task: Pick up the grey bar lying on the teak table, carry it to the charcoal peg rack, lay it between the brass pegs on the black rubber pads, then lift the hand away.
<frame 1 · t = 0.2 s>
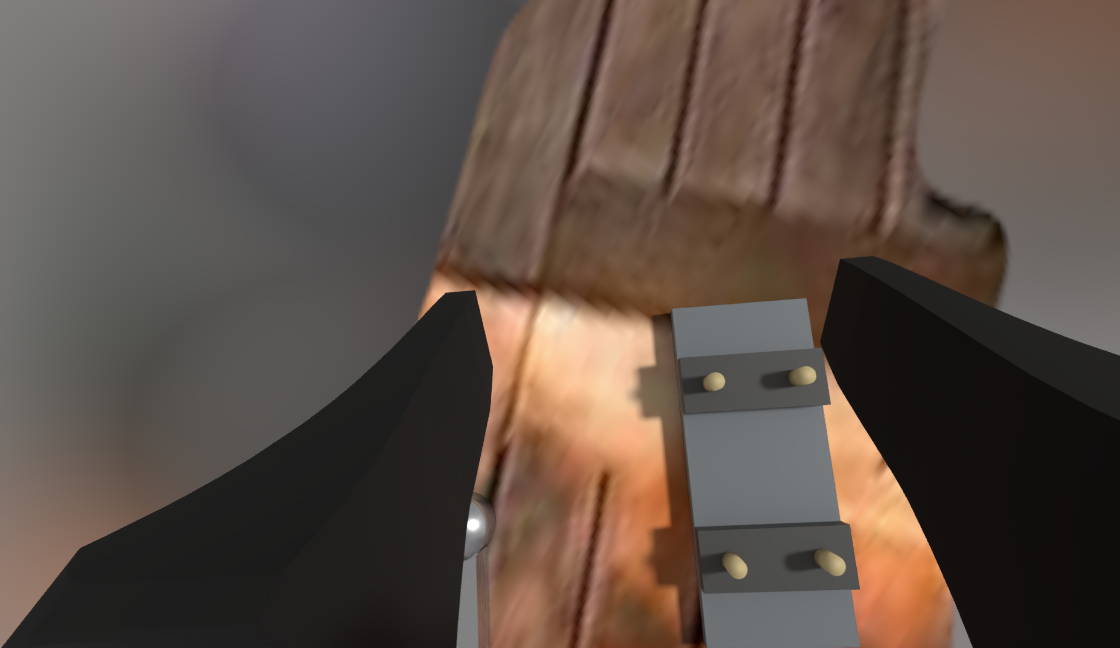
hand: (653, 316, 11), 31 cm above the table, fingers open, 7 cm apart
peg rack: (753, 463, 39), on the table
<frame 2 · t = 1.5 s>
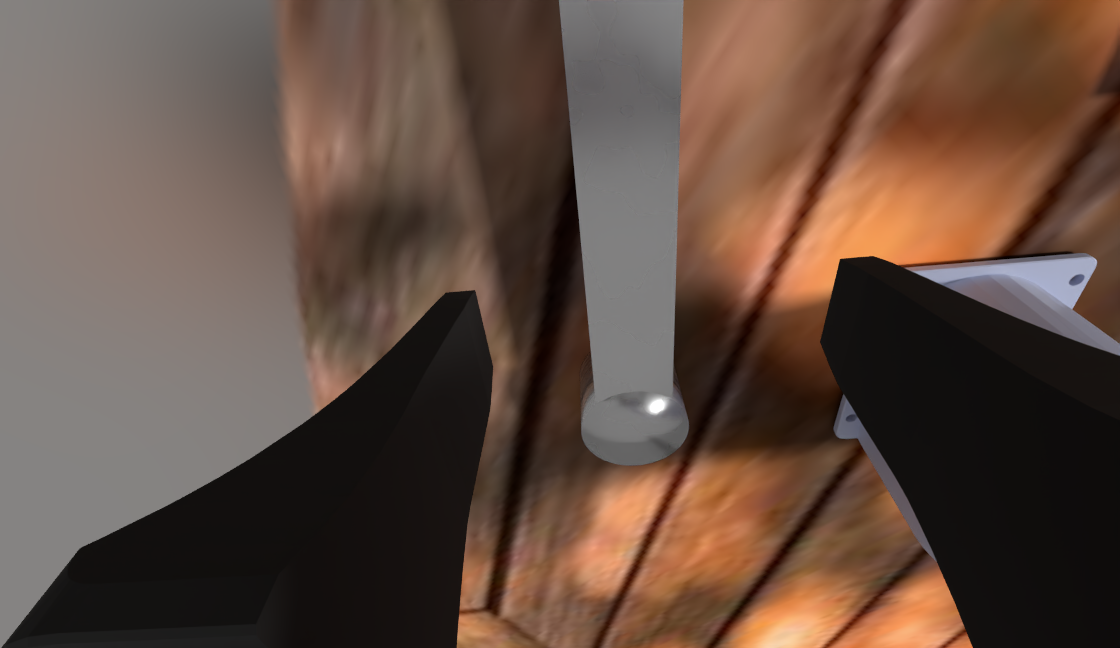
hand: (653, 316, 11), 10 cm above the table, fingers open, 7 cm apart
grey bar: (618, 167, 19), on the table
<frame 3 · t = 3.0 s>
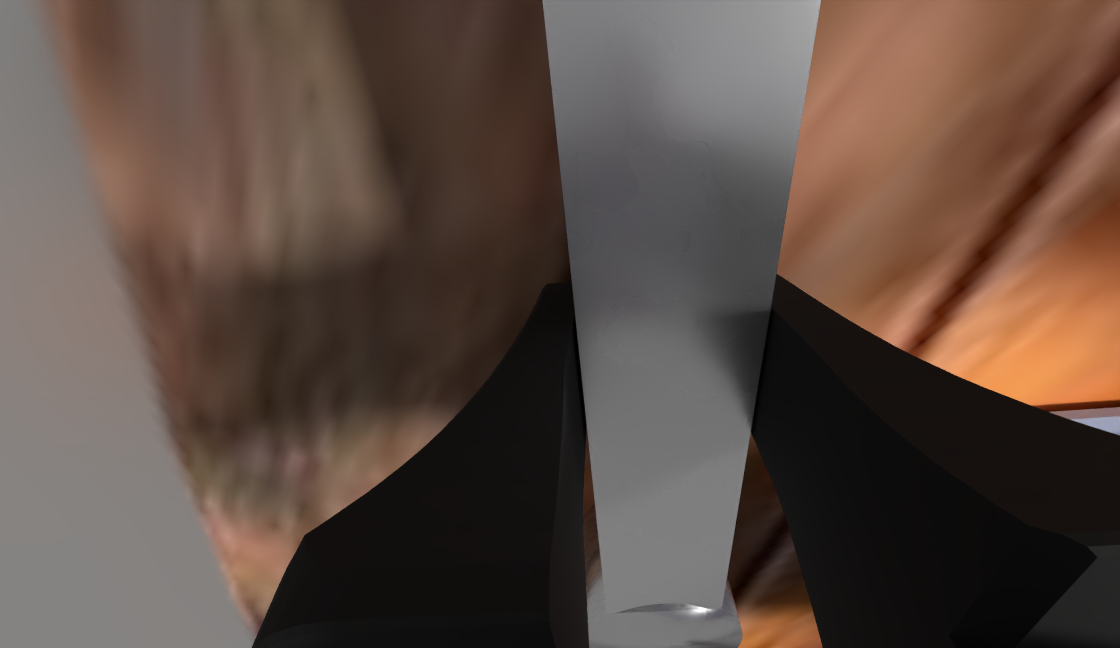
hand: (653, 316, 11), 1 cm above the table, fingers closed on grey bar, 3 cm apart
grey bar: (644, 280, 12), on the table, touching gripper
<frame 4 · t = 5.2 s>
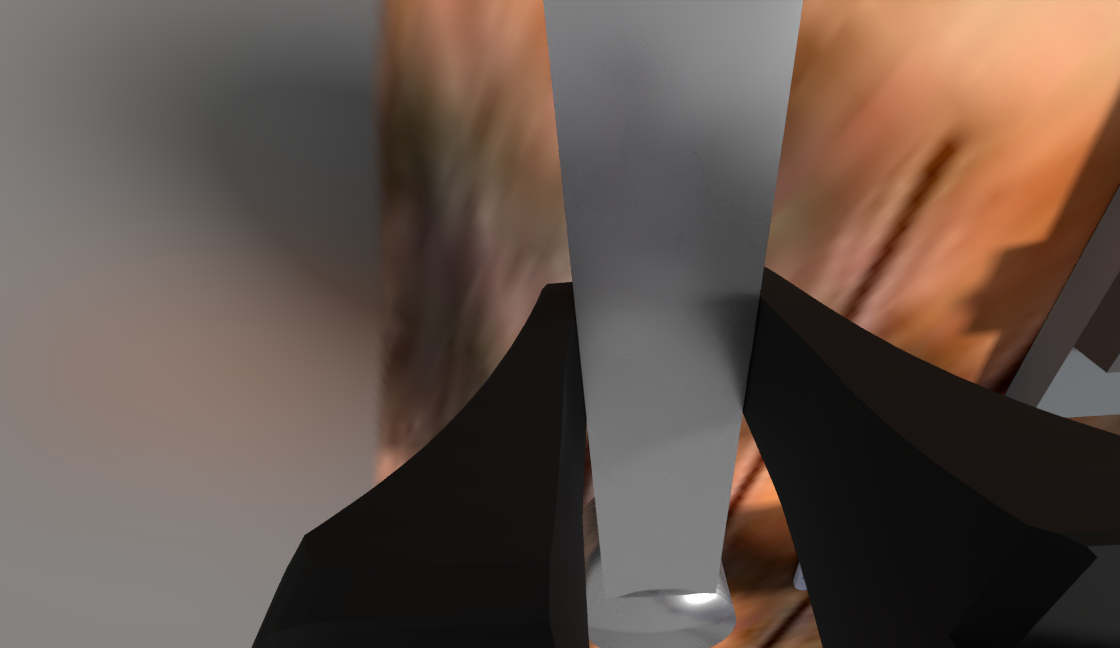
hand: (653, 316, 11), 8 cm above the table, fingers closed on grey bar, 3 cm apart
grey bar: (641, 279, 12), point 6 cm above the table, touching gripper
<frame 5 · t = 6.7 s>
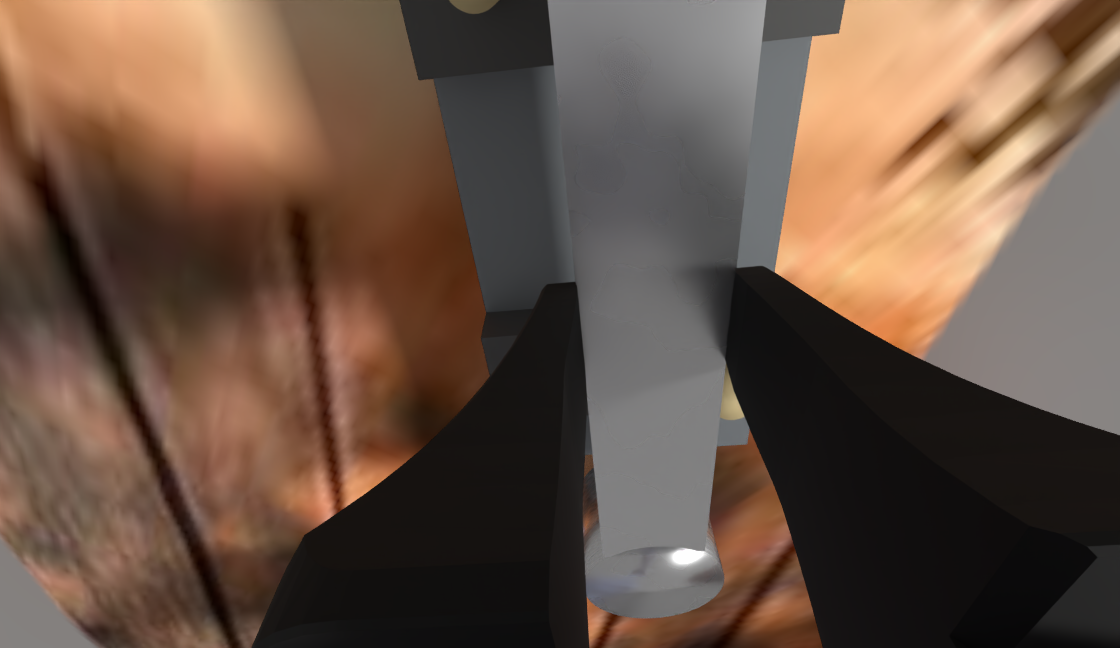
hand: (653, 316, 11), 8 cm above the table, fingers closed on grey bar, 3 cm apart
peg rack: (618, 175, 17), on the table
grey bar: (634, 258, 14), point 5 cm above the table, touching gripper
when the fingers open (6 cm above the table, at t = 7.3 s): grey bar stays where it is, resting on peg rack.
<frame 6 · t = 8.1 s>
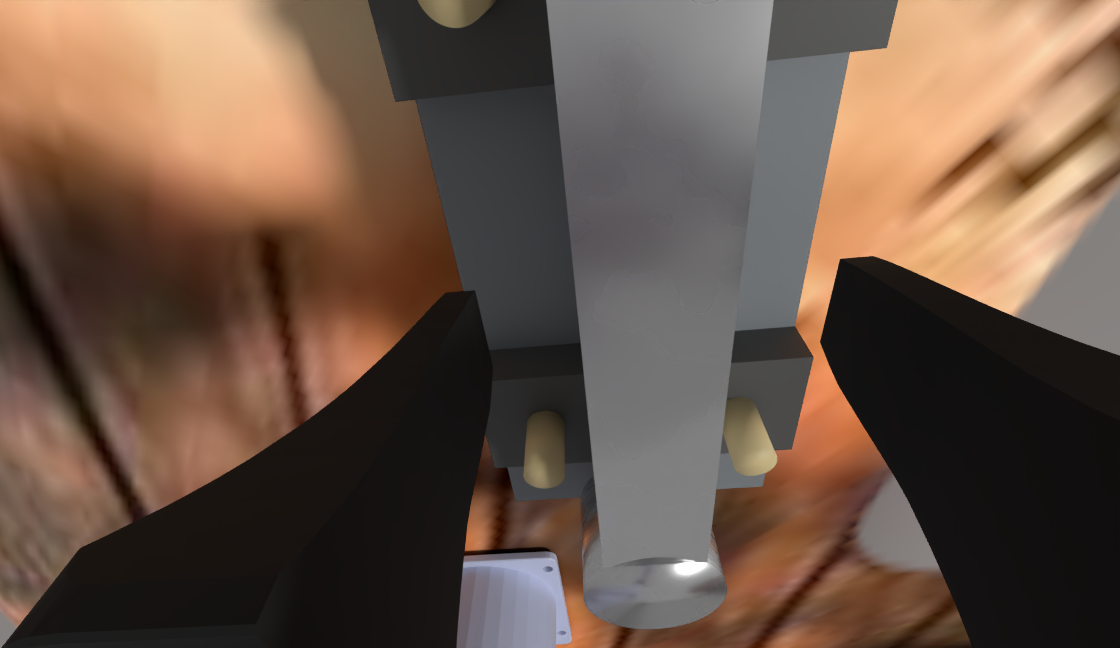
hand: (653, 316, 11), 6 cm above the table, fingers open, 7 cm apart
peg rack: (625, 201, 15), on the table
grey bar: (636, 264, 13), point 3 cm above the table, touching peg rack
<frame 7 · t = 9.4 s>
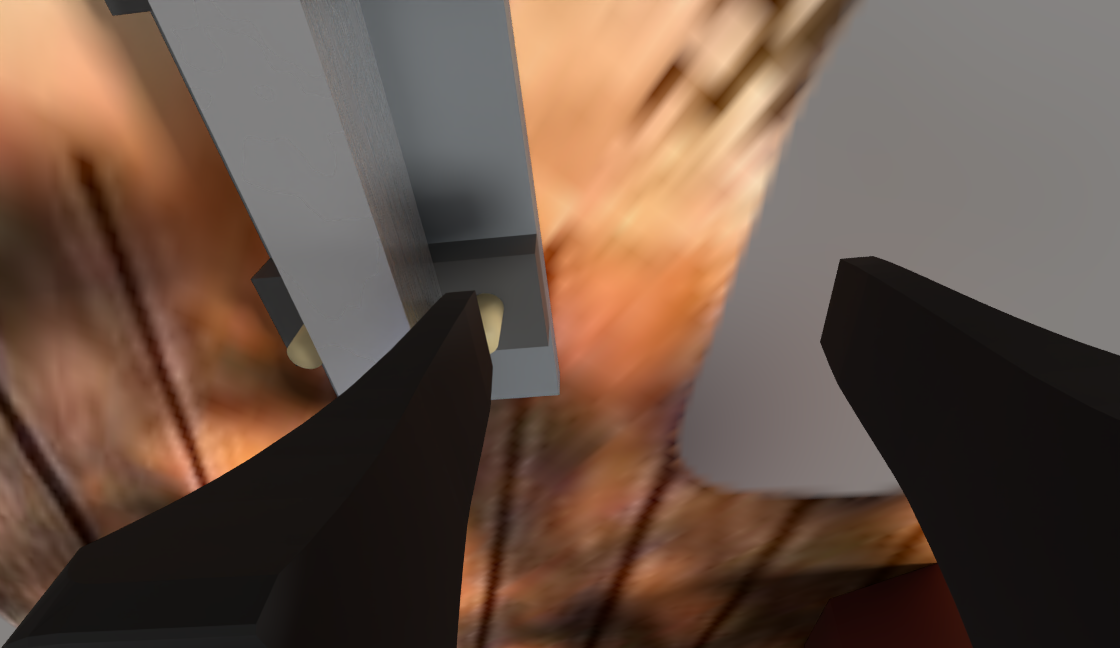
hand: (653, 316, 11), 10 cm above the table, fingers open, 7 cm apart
peg rack: (379, 122, 18), on the table
bucket: (911, 622, 40), on the table
grey bar: (355, 164, 16), point 3 cm above the table, touching peg rack
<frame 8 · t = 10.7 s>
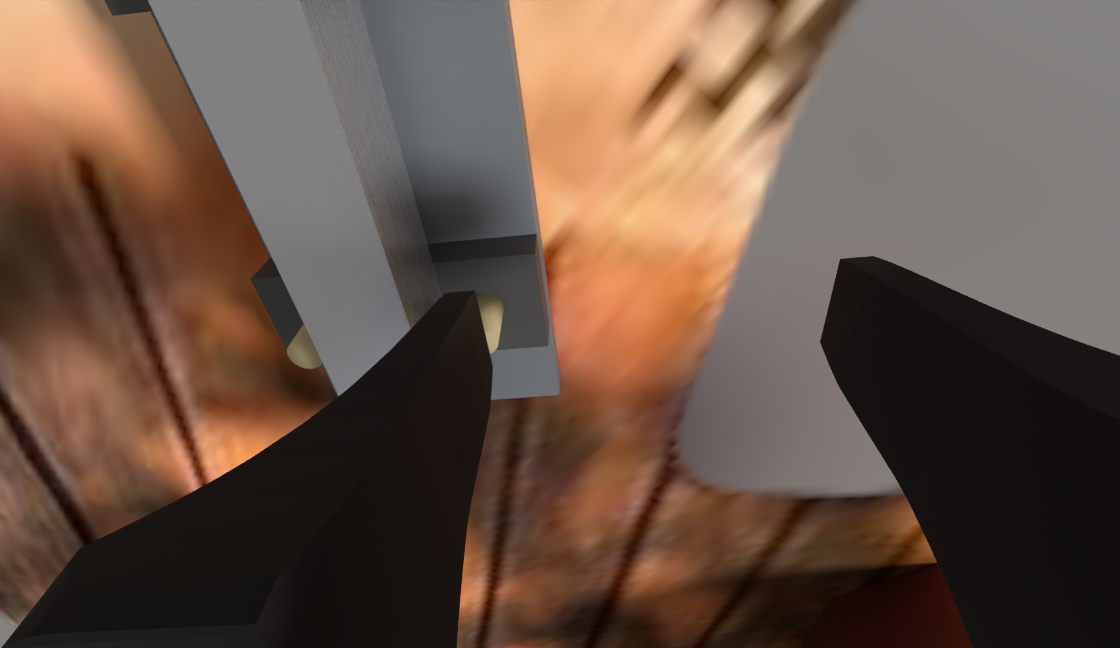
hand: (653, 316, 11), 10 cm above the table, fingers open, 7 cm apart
peg rack: (379, 122, 18), on the table
bucket: (911, 623, 40), on the table
grey bar: (355, 164, 16), point 3 cm above the table, touching peg rack
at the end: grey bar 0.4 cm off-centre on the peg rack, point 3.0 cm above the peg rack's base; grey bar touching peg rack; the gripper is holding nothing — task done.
